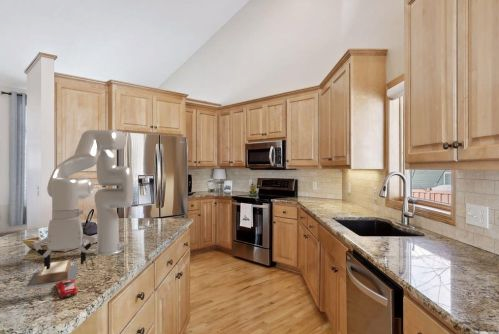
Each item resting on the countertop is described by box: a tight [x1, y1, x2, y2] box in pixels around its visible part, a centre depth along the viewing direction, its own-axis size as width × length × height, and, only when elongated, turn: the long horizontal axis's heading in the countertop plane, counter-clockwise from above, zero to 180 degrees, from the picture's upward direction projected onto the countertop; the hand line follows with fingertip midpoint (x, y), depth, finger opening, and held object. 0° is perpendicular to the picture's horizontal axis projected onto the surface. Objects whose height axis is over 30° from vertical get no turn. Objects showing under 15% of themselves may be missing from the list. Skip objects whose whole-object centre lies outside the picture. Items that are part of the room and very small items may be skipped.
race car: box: [55, 279, 78, 299], centre depth 97 cm, size 13×5×4 cm, turn 38°
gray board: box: [27, 264, 79, 289], centre depth 110 cm, size 14×19×1 cm
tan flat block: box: [37, 259, 72, 285], centre depth 110 cm, size 9×15×3 cm, turn 28°
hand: (65, 265), depth 96 cm, fingers open, 9 cm apart
